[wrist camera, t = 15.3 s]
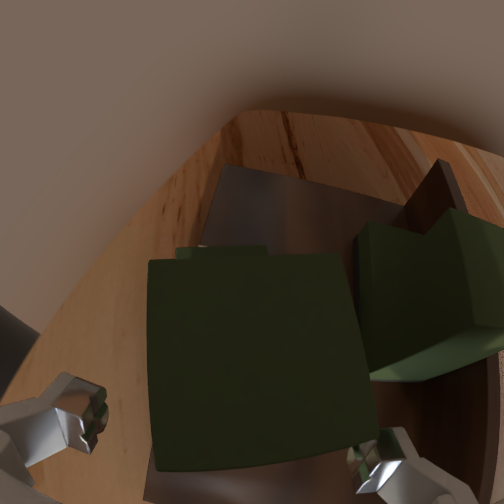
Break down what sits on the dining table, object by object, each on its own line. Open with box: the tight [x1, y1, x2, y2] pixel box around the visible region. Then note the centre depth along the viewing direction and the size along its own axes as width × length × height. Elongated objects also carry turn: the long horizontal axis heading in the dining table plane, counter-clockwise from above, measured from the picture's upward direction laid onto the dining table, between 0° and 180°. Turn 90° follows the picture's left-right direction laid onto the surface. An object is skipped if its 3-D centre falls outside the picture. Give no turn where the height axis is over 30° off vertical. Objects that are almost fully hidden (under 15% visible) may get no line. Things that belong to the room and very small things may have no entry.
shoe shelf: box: [143, 158, 500, 504], centre depth 17 cm, size 17×24×11 cm
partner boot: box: [353, 207, 504, 382], centre depth 15 cm, size 5×10×10 cm, turn 171°
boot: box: [147, 245, 380, 472], centre depth 12 cm, size 5×10×10 cm, turn 7°
